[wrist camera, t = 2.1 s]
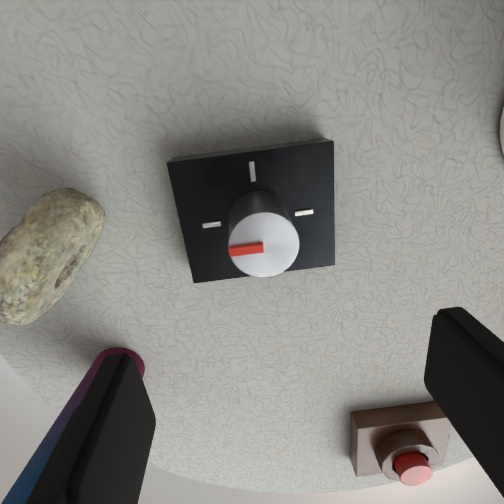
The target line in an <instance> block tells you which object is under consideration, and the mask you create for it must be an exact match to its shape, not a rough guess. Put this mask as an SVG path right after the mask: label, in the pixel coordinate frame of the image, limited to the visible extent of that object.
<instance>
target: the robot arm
mask: <svg viewBox="0 0 504 504" xmlns="http://www.w3.org/2000/svg"><path fill="white" fill-rule="evenodd" d="M500 141H501V149H502V152H503V155H504V108H503V112H502V116H501V123H500ZM424 383H425V386H426V388H427V390H428V392H429V393H430V394H431V396H432V397H433V399H434V400H435V402H436V403H437V404H438V406H439V407H440V409H441V410H442V411H443V413H444V414H445V416H446V417H447V418H448V420H449V421H450V423H451V424H452V426H453V427H454V428H455V430H456V431H457V433H458V434H459V435H460V437H461V438H462V440H463V441H464V442H465V444H466V445H467V447H468V448H469V449H470V451H471V452H472V454H473V455H474V457H475V458H476V459H477V461H478V462H479V464H480V465H481V466H482V468H483V469H484V471H485V472H486V473H487V475H488V476H489V478H490V479H491V480H492V482H493V483H494V485H495V486H496V488H497V489H498V490H499V492H500V493H501V494H502V496H503V497H504V342H503V341H502V340H500V339H499V338H498V337H497V336H496V335H494V334H493V333H492V332H491V331H490V330H489V329H487V328H486V327H485V326H484V325H483V324H481V323H480V322H479V321H478V320H477V319H475V318H474V317H473V316H472V315H471V314H470V313H468V312H467V311H466V310H465V309H463V308H462V307H453V308H445V309H440V310H439V311H438V313H437V315H434V316H433V320H432V326H431V333H430V340H429V347H428V353H427V360H426V367H425V374H424ZM155 426H156V419H155V414H154V411H153V408H152V405H151V403H150V400H149V397H148V394H147V391H146V388H145V386H144V383H143V380H142V377H141V374H140V371H139V369H138V366H137V363H136V360H135V358H134V357H133V356H129V355H128V353H127V352H123V353H115V354H108V355H106V356H105V357H104V359H103V361H102V363H101V365H100V367H99V369H98V371H97V373H96V375H95V376H94V378H93V380H92V382H91V384H90V386H89V388H88V390H87V392H86V394H85V396H84V398H83V400H82V402H81V404H80V405H78V406H77V407H76V408H75V410H74V411H73V413H72V415H71V417H70V419H69V421H68V423H67V424H66V426H65V428H64V430H63V432H62V434H61V436H60V438H59V440H58V442H57V444H56V446H55V448H54V449H53V451H52V453H51V455H50V457H49V459H48V461H47V463H46V465H45V467H44V469H43V471H42V473H41V474H40V476H39V478H38V480H37V482H36V484H35V486H34V488H33V490H32V492H31V494H30V496H29V498H28V499H27V501H26V503H25V504H138V499H139V495H140V491H141V487H142V482H143V478H144V474H145V469H146V465H147V461H148V457H149V453H150V448H151V444H152V440H153V435H154V431H155Z"/></svg>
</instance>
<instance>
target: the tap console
mask: <svg viewBox="0 0 504 504" xmlns="http://www.w3.org/2000/svg"><path fill="white" fill-rule="evenodd" d="M167 167H168V171H169V176H170V180H171V184H172V189H173V193H174V198H175V202H176V207H177V211H178V215H179V220H180V224H181V229H182V233H183V238H184V242H185V246H186V251H187V255H188V260H189V264H190V269H191V273H192V277H193V282H194V283H200V282H208V281H216V280H223V279H231V278H239V277H247V276H250V275H248V274H246V273H244V272H242V271H241V270H240V269H238V268H237V267H236V265H235V264H234V263H233V261H232V259H231V257H230V254H229V249H228V241H229V217H230V211H231V208H232V206H233V204H234V203H235V201H236V200H237V199H238V198H239V197H241V196H242V195H244V194H246V193H248V192H251V191H258V190H259V191H266V192H269V193H271V194H273V195H275V196H276V197H277V198H278V199H279V200H280V201H281V202H282V204H283V205H284V207H285V209H286V211H287V213H288V215H289V217H290V219H291V221H292V223H293V225H294V227H295V229H296V231H297V233H298V236H299V251H298V254H297V256H296V258H295V260H294V262H293V263H292V264H291V265H290V266H289V267H288V268H287V269H286V270H285V271H293V270H301V269H308V268H316V267H324V266H331V265H335V228H334V141H332V140H329V139H326V138H320V139H312V140H305V141H297V142H289V143H282V144H274V145H266V146H259V147H251V148H243V149H236V150H228V151H220V152H213V153H205V154H197V155H190V156H182V157H174V158H172V159H171V160H169V161H168V162H167ZM285 271H283V272H285Z"/></svg>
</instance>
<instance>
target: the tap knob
mask: <svg viewBox="0 0 504 504" xmlns="http://www.w3.org/2000/svg"><path fill="white" fill-rule="evenodd" d="M228 249H229V254H230V257H231V259H232V261H233V263H234V264H235V265H236V267H237V268H238V269H240V270H241V271H242V272H244V273H246V274H248V275H250V276H254V277H262V278H264V277H271V276H275V275H277V274H280V273H281V272H283V271H285V270H286V269H287V268H288V267H289V266H290V265H291V264H292V263H293V262H294V260H295V258H296V256H297V254H298V251H299V236H298V233H297V231H296V229H295V227H294V225H293V223H292V221H291V219H290V217H289V215H288V213H287V211H286V209H285V207H284V205H283V204H282V202H281V201H280V200H279V199H278V198H277V197H276V196H275V195H273V194H271V193H269V192H266V191H259V190H258V191H251V192H248V193H246V194H244V195H242V196H241V197H239V198H238V199H237V200H236V201H235V203H234V204H233V206H232V208H231V211H230V217H229V241H228Z"/></svg>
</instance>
